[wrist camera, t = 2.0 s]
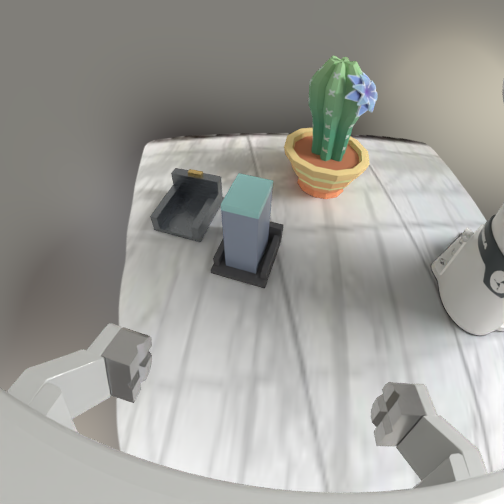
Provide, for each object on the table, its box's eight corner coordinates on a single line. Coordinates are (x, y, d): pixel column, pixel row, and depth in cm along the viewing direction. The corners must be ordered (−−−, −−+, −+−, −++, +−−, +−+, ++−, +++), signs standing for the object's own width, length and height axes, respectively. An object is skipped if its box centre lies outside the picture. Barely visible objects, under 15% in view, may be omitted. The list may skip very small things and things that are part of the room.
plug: (256, 273, 44) (258, 213, 34) (225, 265, 44) (220, 204, 35) (267, 242, 47) (273, 180, 38) (239, 235, 48) (238, 173, 38)
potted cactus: (284, 211, 52) (301, 68, 32) (277, 158, 62) (285, 41, 42) (369, 212, 53) (411, 85, 33) (348, 161, 62) (372, 52, 42)
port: (200, 242, 48) (195, 213, 43) (154, 229, 49) (145, 202, 44) (223, 199, 54) (222, 171, 49) (181, 190, 55) (176, 163, 50)
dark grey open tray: (264, 288, 43) (266, 273, 40) (211, 272, 44) (208, 257, 42) (281, 240, 48) (283, 224, 45) (232, 228, 50) (231, 212, 47)
